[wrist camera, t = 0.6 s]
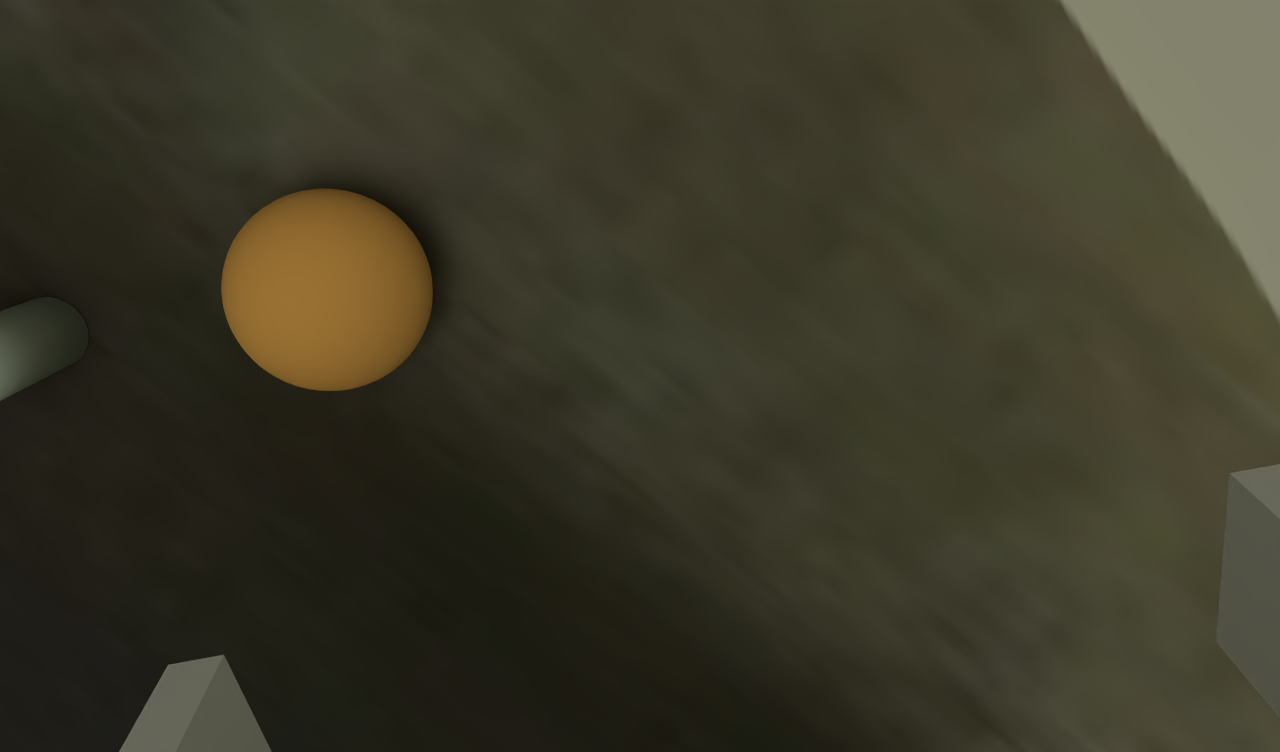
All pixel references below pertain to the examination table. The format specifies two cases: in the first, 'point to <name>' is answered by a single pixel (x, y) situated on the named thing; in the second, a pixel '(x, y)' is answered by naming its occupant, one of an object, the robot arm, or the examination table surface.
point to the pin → (38, 342)
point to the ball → (327, 289)
